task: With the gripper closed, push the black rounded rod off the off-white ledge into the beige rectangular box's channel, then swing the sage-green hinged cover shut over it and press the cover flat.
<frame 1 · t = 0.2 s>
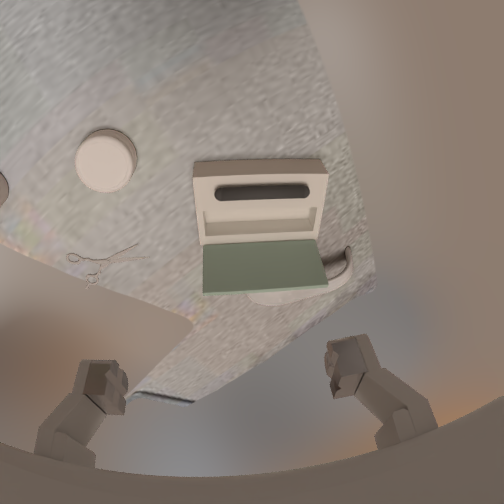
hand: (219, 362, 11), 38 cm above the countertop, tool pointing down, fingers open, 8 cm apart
beige rectangular box: (257, 198, 52), on the countertop
scissors: (107, 260, 59), on the countertop
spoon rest: (297, 267, 65), on the countertop
beige short cylinder: (109, 156, 43), on the countertop
duct cover: (263, 266, 48), point 10 cm above the countertop, hinge at 95.0°
black rounded rod: (262, 189, 45), point 5 cm above the countertop, touching beige rectangular box
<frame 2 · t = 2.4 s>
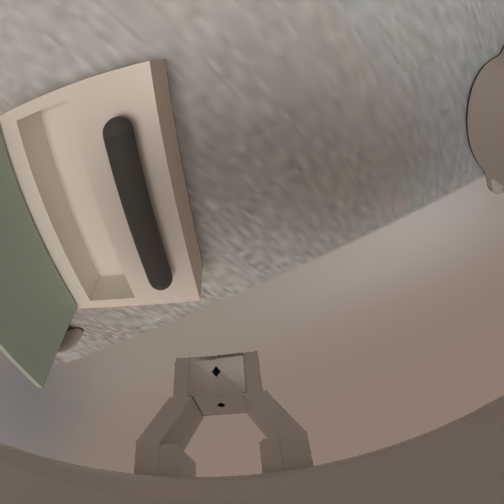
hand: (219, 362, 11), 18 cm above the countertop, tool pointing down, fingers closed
beige rectangular box: (104, 187, 25), on the countertop
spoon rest: (19, 276, 31), on the countertop
duct cover: (2, 264, 17), point 10 cm above the countertop, hinge at 95.0°
black rounded rod: (142, 206, 21), point 5 cm above the countertop, touching beige rectangular box
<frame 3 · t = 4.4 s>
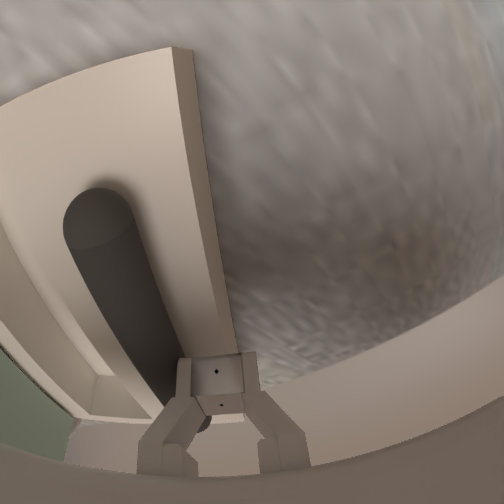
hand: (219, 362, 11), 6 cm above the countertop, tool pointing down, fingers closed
beige rectangular box: (91, 269, 15), on the countertop
black rounded rod: (161, 337, 12), point 5 cm above the countertop, touching beige rectangular box, gripper
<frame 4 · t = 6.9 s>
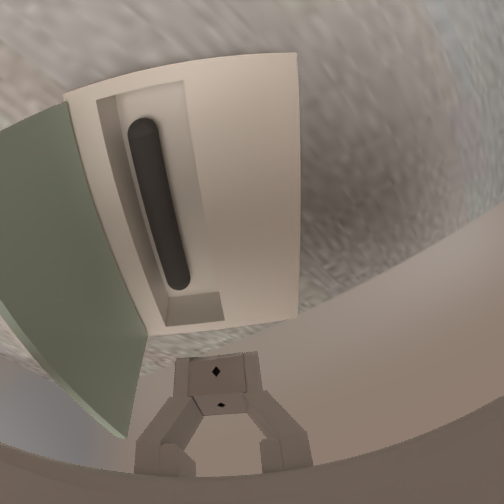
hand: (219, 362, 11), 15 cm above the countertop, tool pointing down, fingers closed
beige rectangular box: (187, 194, 23), on the countertop
duct cover: (74, 292, 15), point 10 cm above the countertop, hinge at 95.0°
black rounded rod: (162, 207, 22), point 1 cm above the countertop, touching beige rectangular box
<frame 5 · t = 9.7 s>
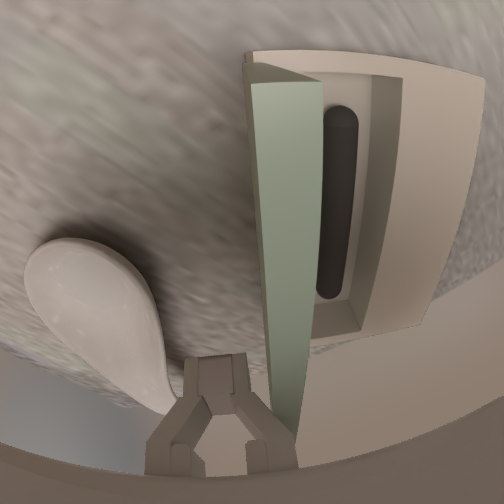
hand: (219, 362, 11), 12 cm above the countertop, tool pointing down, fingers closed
beige rectangular box: (335, 196, 21), on the countertop
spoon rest: (140, 316, 27), on the countertop
duct cover: (274, 319, 12), point 10 cm above the countertop, hinge at 92.3°, touching gripper
black rounded rod: (320, 213, 19), point 2 cm above the countertop, tilted 57°, touching beige rectangular box
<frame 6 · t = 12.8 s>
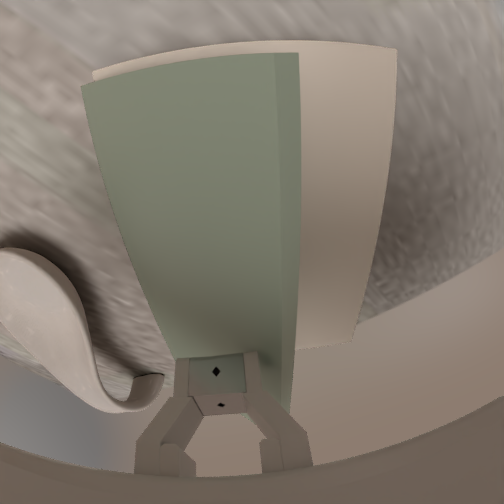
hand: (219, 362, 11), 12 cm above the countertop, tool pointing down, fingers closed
beige rectangular box: (239, 202, 20), on the countertop
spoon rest: (83, 318, 27), on the countertop
duct cover: (197, 303, 13), point 9 cm above the countertop, hinge at 43.5°, touching gripper
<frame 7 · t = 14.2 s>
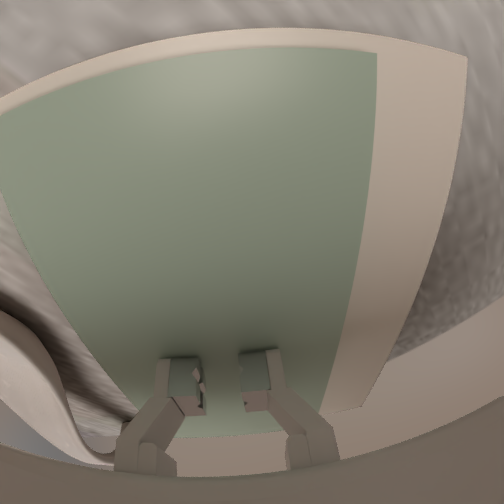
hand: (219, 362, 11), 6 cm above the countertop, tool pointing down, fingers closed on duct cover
beige rectangular box: (227, 257, 15), on the countertop
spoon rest: (60, 369, 22), on the countertop
duct cover: (211, 348, 11), point 5 cm above the countertop, hinge at -0.1°, touching beige rectangular box, gripper
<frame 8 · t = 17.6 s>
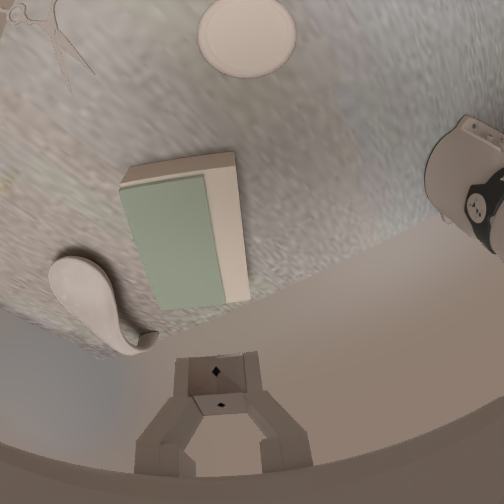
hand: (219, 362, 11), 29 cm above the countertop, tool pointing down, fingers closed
beige rectangular box: (186, 228, 41), on the countertop
scissors: (53, 29, 22), on the countertop
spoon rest: (109, 295, 48), on the countertop
beige short cylinder: (245, 35, 27), on the countertop
duct cover: (177, 252, 37), point 5 cm above the countertop, hinge at -0.1°, touching beige rectangular box
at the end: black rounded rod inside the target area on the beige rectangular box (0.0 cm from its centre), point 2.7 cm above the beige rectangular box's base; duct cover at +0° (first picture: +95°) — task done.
